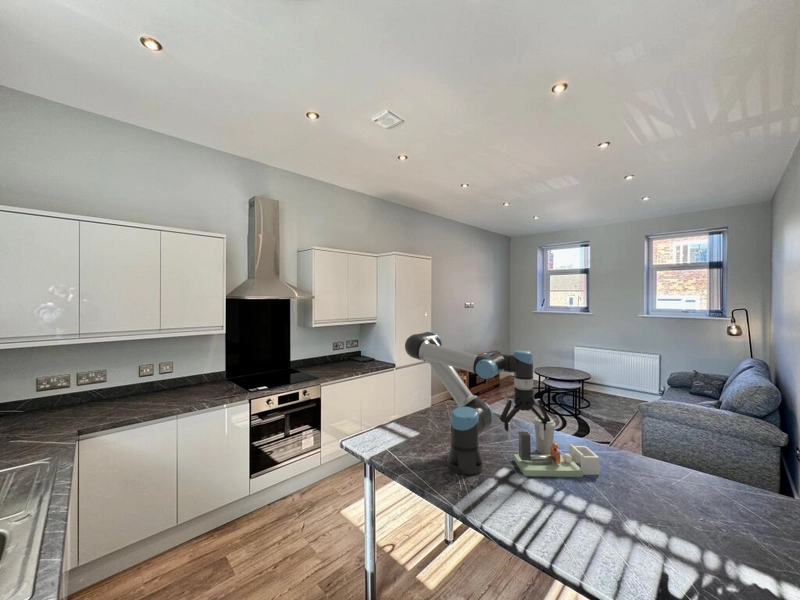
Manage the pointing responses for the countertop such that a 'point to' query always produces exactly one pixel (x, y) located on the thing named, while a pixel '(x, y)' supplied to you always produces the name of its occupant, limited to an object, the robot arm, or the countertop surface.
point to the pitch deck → (548, 468)
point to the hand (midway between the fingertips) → (525, 438)
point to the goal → (585, 459)
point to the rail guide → (541, 462)
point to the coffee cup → (545, 444)
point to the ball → (567, 458)
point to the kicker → (526, 450)
